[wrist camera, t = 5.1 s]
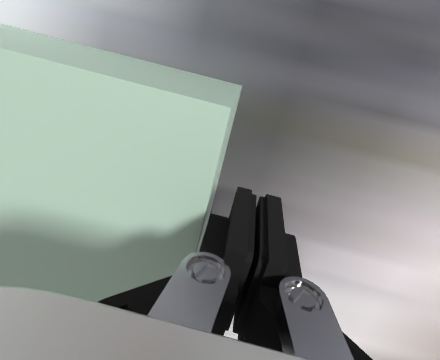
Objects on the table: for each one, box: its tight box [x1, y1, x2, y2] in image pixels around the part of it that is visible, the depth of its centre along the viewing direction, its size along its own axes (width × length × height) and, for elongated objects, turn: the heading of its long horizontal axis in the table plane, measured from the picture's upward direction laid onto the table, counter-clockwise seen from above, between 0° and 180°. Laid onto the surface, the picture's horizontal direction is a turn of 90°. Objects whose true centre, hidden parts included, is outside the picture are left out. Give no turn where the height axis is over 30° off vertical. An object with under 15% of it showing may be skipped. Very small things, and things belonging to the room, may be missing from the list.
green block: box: [0, 23, 242, 302], centre depth 14 cm, size 12×10×6 cm
